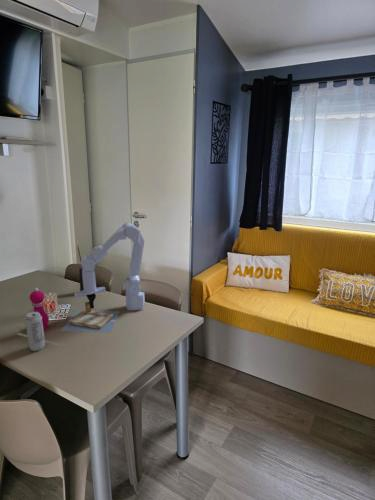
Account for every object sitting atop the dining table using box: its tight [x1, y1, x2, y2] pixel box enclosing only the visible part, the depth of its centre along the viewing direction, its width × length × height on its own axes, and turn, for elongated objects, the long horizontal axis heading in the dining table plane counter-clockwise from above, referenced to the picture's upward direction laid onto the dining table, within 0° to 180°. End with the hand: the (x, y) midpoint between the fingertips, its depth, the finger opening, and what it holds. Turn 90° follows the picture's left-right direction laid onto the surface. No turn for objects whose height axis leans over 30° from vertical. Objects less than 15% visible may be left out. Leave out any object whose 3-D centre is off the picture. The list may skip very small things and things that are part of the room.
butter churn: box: [77, 245, 84, 292], centre depth 187 cm, size 9×10×28 cm
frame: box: [68, 301, 113, 329], centre depth 156 cm, size 16×12×6 cm
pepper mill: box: [29, 287, 50, 331], centre depth 148 cm, size 7×7×20 cm
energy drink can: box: [24, 311, 46, 352], centre depth 134 cm, size 6×6×15 cm
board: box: [60, 310, 120, 333], centre depth 157 cm, size 22×20×1 cm
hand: (91, 307), depth 163 cm, fingers closed, pressing on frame
